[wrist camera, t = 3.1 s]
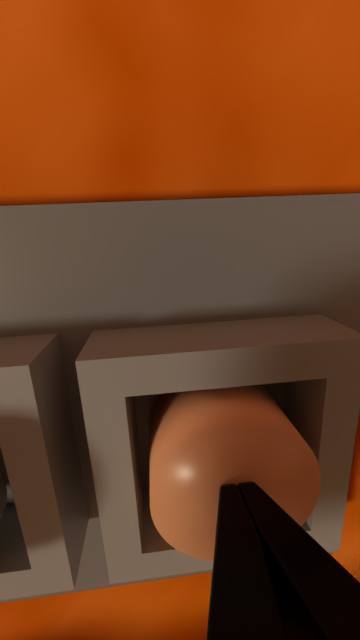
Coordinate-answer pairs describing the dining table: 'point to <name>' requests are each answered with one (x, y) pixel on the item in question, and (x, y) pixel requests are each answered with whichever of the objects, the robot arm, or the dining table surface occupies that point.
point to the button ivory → (2, 495)
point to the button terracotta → (223, 461)
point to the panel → (161, 364)
